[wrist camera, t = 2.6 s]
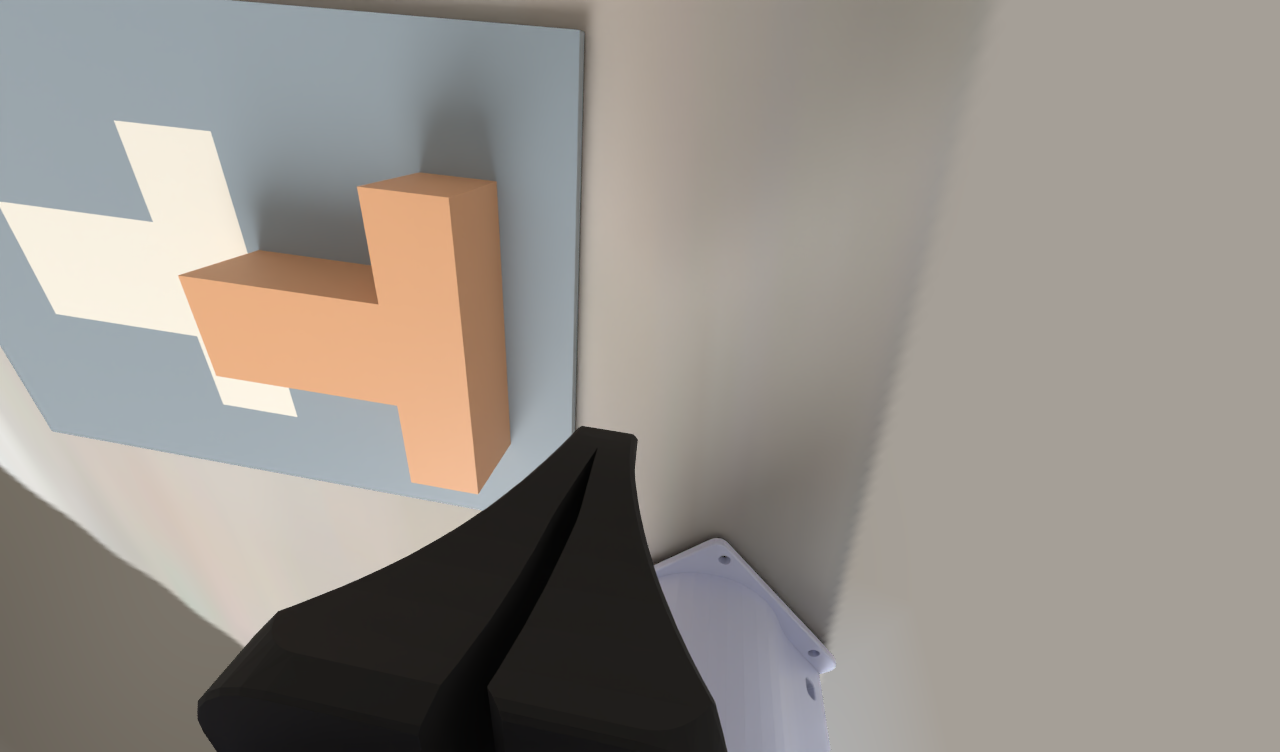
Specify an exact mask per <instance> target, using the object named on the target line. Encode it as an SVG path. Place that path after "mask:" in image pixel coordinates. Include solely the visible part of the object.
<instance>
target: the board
mask: <svg viewBox="0 0 1280 752" xmlns="http://www.w3.org/2000/svg"><path fill="white" fill-rule="evenodd" d="M584 34H585V32H583V31H581V30H575V29H563V28H552V27H540V26H528V25H516V24H504V23H493V22H481V21H469V20H457V19H446V18H434V17H422V16H410V15H398V14H387V13H375V12H363V11H351V10H339V9H328V8H316V7H304V6H292V5H280V4H269V3H257V2H245V1H233V0H0V346H1V348H2V349H3V351H4V353H5V354H6V356H7V358H8V359H9V361H10V363H11V364H12V366H13V367H14V369H15V371H16V372H17V374H18V376H19V377H20V379H21V381H22V382H23V384H24V386H25V387H26V389H27V391H28V392H29V394H30V396H31V397H32V399H33V401H34V402H35V404H36V406H37V407H38V409H39V410H40V412H41V414H42V415H43V417H44V419H45V420H46V422H47V424H48V425H49V427H50V429H51V430H52V431H53V432H59V433H64V434H70V435H75V436H80V437H86V438H91V439H97V440H102V441H108V442H113V443H118V444H124V445H129V446H135V447H140V448H146V449H151V450H156V451H162V452H167V453H173V454H178V455H184V456H189V457H194V458H200V459H205V460H211V461H216V462H222V463H227V464H232V465H238V466H243V467H249V468H254V469H260V470H265V471H270V472H276V473H281V474H287V475H292V476H298V477H303V478H308V479H314V480H319V481H325V482H330V483H336V484H341V485H346V486H352V487H357V488H363V489H368V490H374V491H379V492H385V493H390V494H395V495H401V496H406V497H412V498H417V499H423V500H428V501H433V502H439V503H444V504H450V505H455V506H461V507H466V508H471V509H477V510H482V511H483V510H484V509H486V508H487V507H489V506H490V505H491V504H493V503H494V502H495V501H497V500H498V499H499V498H501V497H502V496H503V495H504V494H506V493H507V492H508V491H509V490H511V489H512V488H513V487H515V486H516V485H517V484H518V483H520V482H521V481H522V480H523V479H524V478H526V477H527V476H528V475H529V474H530V473H531V472H532V471H534V470H535V469H536V468H537V467H538V466H539V465H540V464H542V463H543V462H544V461H545V460H546V459H547V458H548V457H549V456H550V455H551V454H552V453H554V452H555V451H556V450H557V449H558V448H559V447H560V446H561V445H562V444H563V443H564V442H565V441H566V440H567V439H568V438H569V437H570V436H571V435H572V434H573V433H574V432H575V405H576V364H577V323H578V282H579V241H580V199H581V158H582V117H583V76H584ZM419 172H421V173H430V174H438V175H447V176H456V177H464V178H473V179H481V180H490V181H497V197H498V215H499V234H500V253H501V271H502V290H503V309H504V327H505V346H506V364H507V383H508V402H509V420H510V439H511V444H510V446H509V447H508V449H507V451H506V452H505V454H504V455H503V457H502V458H501V460H500V461H499V463H498V465H497V466H496V468H495V469H494V471H493V472H492V474H491V475H490V477H489V479H488V480H487V482H486V483H485V485H484V486H483V488H482V489H481V491H480V493H479V494H472V493H467V492H461V491H456V490H450V489H445V488H439V487H434V486H428V485H423V484H417V483H412V482H411V478H410V473H409V467H408V462H407V456H406V451H405V446H404V440H403V435H402V429H401V424H400V418H399V413H398V407H397V406H395V405H389V404H383V403H377V402H371V401H365V400H359V399H353V398H347V397H341V396H335V395H329V394H323V393H317V392H311V391H304V390H298V389H292V388H286V387H280V386H274V385H268V384H262V383H256V382H250V381H244V380H238V379H232V378H226V377H220V376H216V374H215V371H214V369H213V366H212V363H211V361H210V358H209V356H208V353H207V350H206V348H205V345H204V342H203V340H202V337H201V335H200V332H199V329H198V327H197V324H196V321H195V319H194V316H193V314H192V311H191V308H190V306H189V303H188V300H187V298H186V295H185V293H184V290H183V287H182V285H181V282H180V280H179V277H178V275H181V274H184V273H187V272H190V271H194V270H197V269H200V268H203V267H206V266H210V265H213V264H216V263H219V262H222V261H225V260H229V259H232V258H235V257H238V256H241V255H245V254H248V253H251V252H254V251H257V250H263V251H270V252H277V253H284V254H292V255H299V256H306V257H314V258H321V259H328V260H335V261H343V262H350V263H357V264H365V265H371V261H370V255H369V250H368V244H367V239H366V233H365V228H364V223H363V217H362V212H361V206H360V201H359V195H358V190H357V186H361V185H366V184H370V183H375V182H379V181H383V180H388V179H392V178H397V177H401V176H405V175H410V174H414V173H419Z"/></svg>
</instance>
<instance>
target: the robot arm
mask: <svg viewBox="0 0 1280 752" xmlns="http://www.w3.org/2000/svg"><path fill="white" fill-rule="evenodd" d="M637 441H638V439H637V438H636V437H635V436H634V435H633V434H628V433H622V432H616V431H610V430H603V429H597V428H591V427H585V426H581V427H580V428H578V429H577V430H576V431H575V432H574V433H573V434H572V435H571V436H570V437H569V438H568V439H567V440H566V441H565V442H564V443H563V444H562V445H561V446H560V447H559V448H558V449H557V450H556V451H555V452H554V453H552V454H551V455H550V456H549V457H548V458H547V459H546V460H545V461H544V462H543V463H542V464H540V465H539V466H538V467H537V468H536V469H535V470H534V471H532V472H531V473H530V474H529V475H528V476H527V477H526V478H524V479H523V480H522V481H521V482H520V483H518V484H517V485H516V486H515V487H513V488H512V489H511V490H509V491H508V492H507V493H506V494H504V495H503V496H502V497H501V498H499V499H498V500H497V501H495V502H494V503H493V504H491V505H490V506H489V507H487V508H486V509H484V510H483V511H482V512H480V513H479V514H477V515H476V516H474V517H473V518H471V519H470V520H468V521H467V522H465V523H464V524H462V525H461V526H459V527H458V528H456V529H454V530H453V531H451V532H449V533H448V534H446V535H444V536H443V537H441V538H439V539H438V540H436V541H434V542H432V543H430V544H429V545H427V546H425V547H423V548H421V549H420V550H418V551H416V552H414V553H413V554H411V555H409V556H407V557H405V558H403V559H401V560H399V561H397V562H395V563H393V564H391V565H389V566H387V567H385V568H382V569H380V570H378V571H376V572H374V573H372V574H369V575H367V576H365V577H363V578H361V579H359V580H356V581H354V582H352V583H349V584H347V585H345V586H342V587H340V588H337V589H335V590H332V591H330V592H327V593H325V594H322V595H320V596H317V597H315V598H312V599H310V600H307V601H304V602H302V603H299V604H297V605H294V606H292V607H289V608H286V609H283V610H281V611H278V612H277V613H276V614H275V615H274V616H273V617H272V618H271V619H270V620H269V621H268V622H267V623H266V624H265V625H264V626H263V628H262V629H261V630H260V631H259V632H258V633H257V634H256V635H255V636H254V637H253V638H252V639H251V640H250V642H249V643H248V644H247V645H246V646H245V647H244V649H243V650H242V651H241V652H240V653H239V654H238V655H237V657H236V658H235V659H234V660H233V661H232V662H231V664H230V665H229V666H228V667H227V668H226V669H225V670H224V672H223V673H222V674H221V675H220V676H219V677H218V679H217V680H216V681H215V682H214V683H213V684H212V686H211V687H210V688H209V689H208V690H207V691H206V693H204V695H203V696H202V697H201V698H200V699H199V700H198V711H197V712H198V721H199V723H200V725H201V727H202V730H203V732H204V733H205V734H206V736H207V738H208V739H209V741H210V742H211V744H212V745H213V747H214V748H215V750H216V751H217V752H831V748H830V742H829V735H828V728H827V722H826V715H825V709H824V702H823V696H822V689H821V683H820V676H819V674H821V673H825V672H828V671H831V670H833V669H834V668H835V667H836V660H835V657H834V655H833V654H832V653H831V652H830V651H829V650H828V649H827V648H826V647H825V646H824V645H823V644H822V643H821V641H820V640H819V639H818V638H817V637H816V636H815V635H814V634H813V633H812V632H811V631H810V630H809V629H808V628H807V627H806V625H805V624H804V623H803V622H802V621H801V620H800V619H799V618H798V617H797V616H796V615H795V614H794V613H793V612H792V611H791V610H790V608H789V607H788V606H787V605H786V604H785V603H784V602H783V601H782V600H781V599H780V598H779V597H778V596H777V595H776V594H775V592H774V591H773V590H772V589H771V588H770V587H769V586H768V585H767V584H766V583H765V582H764V581H763V580H762V579H761V578H760V576H759V575H758V574H757V573H756V572H755V571H754V570H753V569H752V568H751V567H750V566H749V565H748V564H747V563H746V562H745V560H744V559H743V558H742V557H741V556H740V555H739V554H738V553H737V552H736V551H735V550H734V549H733V548H732V547H731V546H730V544H729V543H728V542H726V541H725V540H723V539H720V538H713V539H710V540H708V541H706V542H703V543H701V544H699V545H697V546H695V547H692V548H690V549H688V550H686V551H684V552H682V553H679V554H677V555H675V556H673V557H671V558H668V559H666V560H664V561H662V562H660V563H658V564H655V565H653V562H652V558H651V555H650V552H649V548H648V545H647V541H646V537H645V533H644V529H643V524H642V520H641V515H640V510H639V504H638V498H637V490H636V483H635V460H636V451H637ZM722 556H727V557H722Z"/></svg>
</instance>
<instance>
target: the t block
mask: <svg viewBox="0 0 1280 752" xmlns="http://www.w3.org/2000/svg"><path fill="white" fill-rule="evenodd" d="M357 190H358V195H359V201H360V206H361V212H362V217H363V223H364V228H365V233H366V239H367V244H368V250H369V255H370V261H371V265H365V264H357V263H350V262H343V261H335V260H328V259H321V258H314V257H306V256H299V255H292V254H284V253H277V252H270V251H263V250H257V251H254V252H251V253H248V254H245V255H241V256H238V257H235V258H232V259H229V260H225V261H222V262H219V263H216V264H213V265H210V266H206V267H203V268H200V269H197V270H194V271H190V272H187V273H184V274H181V275H178V277H179V280H180V282H181V285H182V287H183V290H184V293H185V295H186V298H187V300H188V303H189V306H190V308H191V311H192V314H193V316H194V319H195V321H196V324H197V327H198V329H199V332H200V335H201V337H202V340H203V342H204V345H205V348H206V350H207V353H208V356H209V358H210V361H211V363H212V366H213V369H214V371H215V374H216V376H220V377H226V378H232V379H238V380H244V381H250V382H256V383H262V384H268V385H274V386H280V387H286V388H292V389H298V390H304V391H311V392H317V393H323V394H329V395H335V396H341V397H347V398H353V399H359V400H365V401H371V402H377V403H383V404H389V405H395V406H397V407H398V413H399V418H400V424H401V429H402V435H403V440H404V446H405V451H406V456H407V462H408V467H409V473H410V478H411V482H412V483H417V484H423V485H428V486H434V487H439V488H445V489H450V490H456V491H461V492H467V493H472V494H479V493H480V491H481V489H482V488H483V486H484V485H485V483H486V482H487V480H488V479H489V477H490V475H491V474H492V472H493V471H494V469H495V468H496V466H497V465H498V463H499V461H500V460H501V458H502V457H503V455H504V454H505V452H506V451H507V449H508V447H509V446H510V444H511V439H510V420H509V402H508V383H507V364H506V346H505V327H504V309H503V290H502V271H501V253H500V234H499V215H498V197H497V181H490V180H481V179H473V178H464V177H456V176H447V175H438V174H430V173H421V172H419V173H414V174H410V175H405V176H401V177H397V178H392V179H388V180H383V181H379V182H375V183H370V184H366V185H361V186H357Z"/></svg>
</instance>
